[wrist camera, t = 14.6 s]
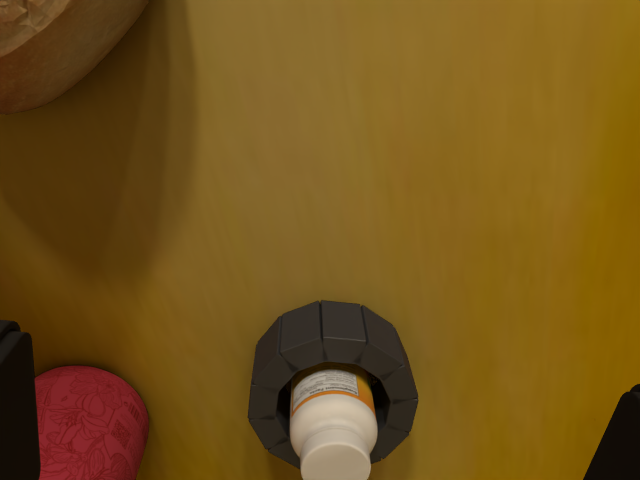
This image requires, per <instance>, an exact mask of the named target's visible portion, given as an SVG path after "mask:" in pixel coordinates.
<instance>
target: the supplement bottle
mask: <svg viewBox="0 0 640 480" xmlns="http://www.w3.org/2000/svg"><path fill="white" fill-rule="evenodd" d="M377 433H378V430H377V421H376V415H375V409H374V403H373V396H372V390H371V385H370V379H369V373H368V371H366V370H365V369H363V368H361V367H360V366H358V365H357V364H349V363H338V362H327V361H325V362H322V363H319V364H317V365H314V366H311V367H308V368H306V369H303V370H300V371H297V372H296V373H295V374H294V375H293V377H292V378H291V406H290V440H291V444H292V446H293V449H294V451H295V452H296V454H297V455H298V456H299V457H300V468H301V476H302V478H303V480H367V479H368V477H369V475H370V470H371V463H370V455H369V454H370V453H371V451H372V450H373V448H374V446H375V443H376V440H377Z"/></svg>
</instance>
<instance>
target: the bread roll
mask: <svg viewBox="0 0 640 480" xmlns="http://www.w3.org/2000/svg"><path fill="white" fill-rule="evenodd" d="M148 2H149V0H0V114H11V113H17V112H22V111H26V110H30V109H34V108H37V107H40V106H42V105H45V104H47V103H49V102H50V101H52V100H54V99H56V98H57V97H59V96H61V95H62V94H63V93H65V92H66V91H67V90H69V89H70V88H72V87H73V86H74V85H75V84H77V83H78V82H79V81H80V80H81V79H83V78H84V77H85V76H86V75H87V74H88V73H89V72H90V71H91V70H93V69H94V68H95V67H96V66H97V65H98V64H99V63H100V62H101V61H102V60H103V59H104V58H105V57H106V55H107V54H108V53H109V52H110V51H111V50H112V49H113V48H114V46H115V45H116V44H117V43H118V42H119V41H120V40H121V39H122V37H123V36H124V35H125V34H126V33H127V31H128V30H129V29H130V28H131V26H132V25H133V24H134V23H135V22H136V20H137V19H138V17H139V16H140V15H141V13H142V11H143V10H144V8H145V6H146V5H147V3H148Z"/></svg>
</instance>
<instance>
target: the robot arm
mask: <svg viewBox="0 0 640 480" xmlns="http://www.w3.org/2000/svg"><path fill="white" fill-rule="evenodd" d="M40 471H41V461H40V447H39V433H38V418H37V404H36V390H35V376H34V361H33V347H32V338H31V335H30V334H29V333H27V332H21V330H20V327H19V325H18V323H17V322H15V321H7V320H0V480H39V477H40ZM583 480H640V384H637V385H635V386H634V387H632V389H631V390H630V392H626V393H624V394H623V395H622V397H621V398H620V400H619V402H618V404H617V407H616V409H615V411H614V413H613V415H612V418H611V420H610V422H609V424H608V426H607V428H606V431H605V433H604V435H603V437H602V439H601V442H600V444H599V446H598V448H597V450H596V453H595V455H594V457H593V459H592V461H591V463H590V466H589V468H588V470H587V472H586V474H585V477H584V479H583Z"/></svg>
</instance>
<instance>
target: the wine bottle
mask: <svg viewBox="0 0 640 480" xmlns="http://www.w3.org/2000/svg"><path fill="white" fill-rule="evenodd" d="M35 390H36V404H37V418H38V433H39V447H40V461H41V471H40V477H39V480H135V479H136V476H137V473H138V470H139V466H140V463H141V460H142V456H143V453H144V449H145V446H146V442H147V438H148V432H149V418H148V413H147V410H146V407H145V405H144V403H143V401H142V399H141V398H140V396H139V395H138V393H137V392H136V391H135V390H134V389H133V388H132V387H131V386H130V385H129V384H128V383H127V382H126V381H124V380H123V379H121V378H120V377H118V376H116V375H114V374H112V373H110V372H107V371H105V370H102V369H99V368H95V367H90V366H64V367H59V368H55V369H52V370H49V371H46V372H44V373H42V374H40V375H39V376H37V377H36V378H35Z"/></svg>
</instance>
